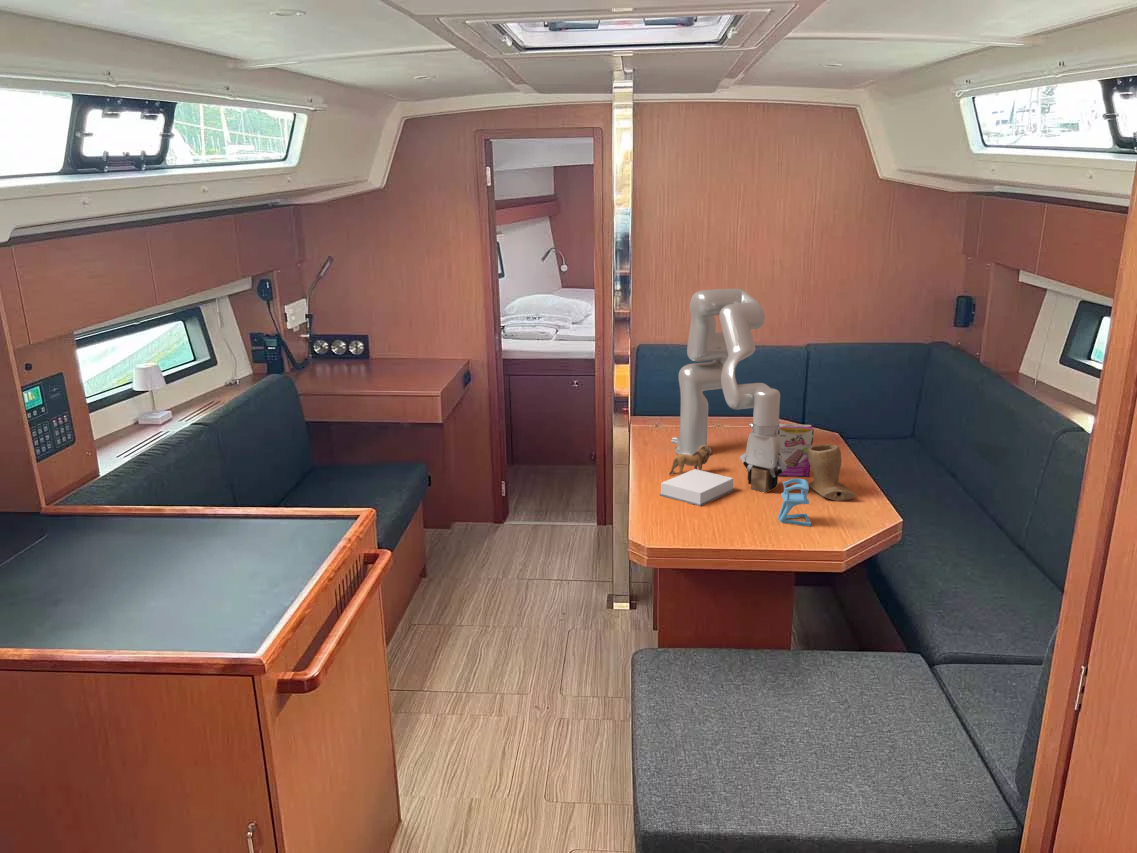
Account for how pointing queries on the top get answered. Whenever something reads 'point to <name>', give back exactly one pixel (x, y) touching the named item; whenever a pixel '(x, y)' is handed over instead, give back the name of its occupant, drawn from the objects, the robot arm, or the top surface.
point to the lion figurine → (692, 459)
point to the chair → (794, 501)
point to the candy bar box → (795, 448)
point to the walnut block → (760, 479)
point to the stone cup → (827, 472)
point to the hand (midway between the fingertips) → (762, 485)
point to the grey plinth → (697, 487)
